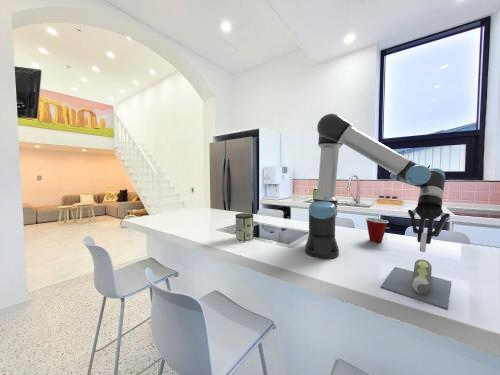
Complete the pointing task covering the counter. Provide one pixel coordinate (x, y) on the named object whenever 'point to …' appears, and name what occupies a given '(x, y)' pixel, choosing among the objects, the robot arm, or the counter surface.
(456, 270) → the counter surface
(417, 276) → the patterned grey cylinder
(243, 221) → the coffee can
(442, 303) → the slate mat
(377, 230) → the plastic cup
